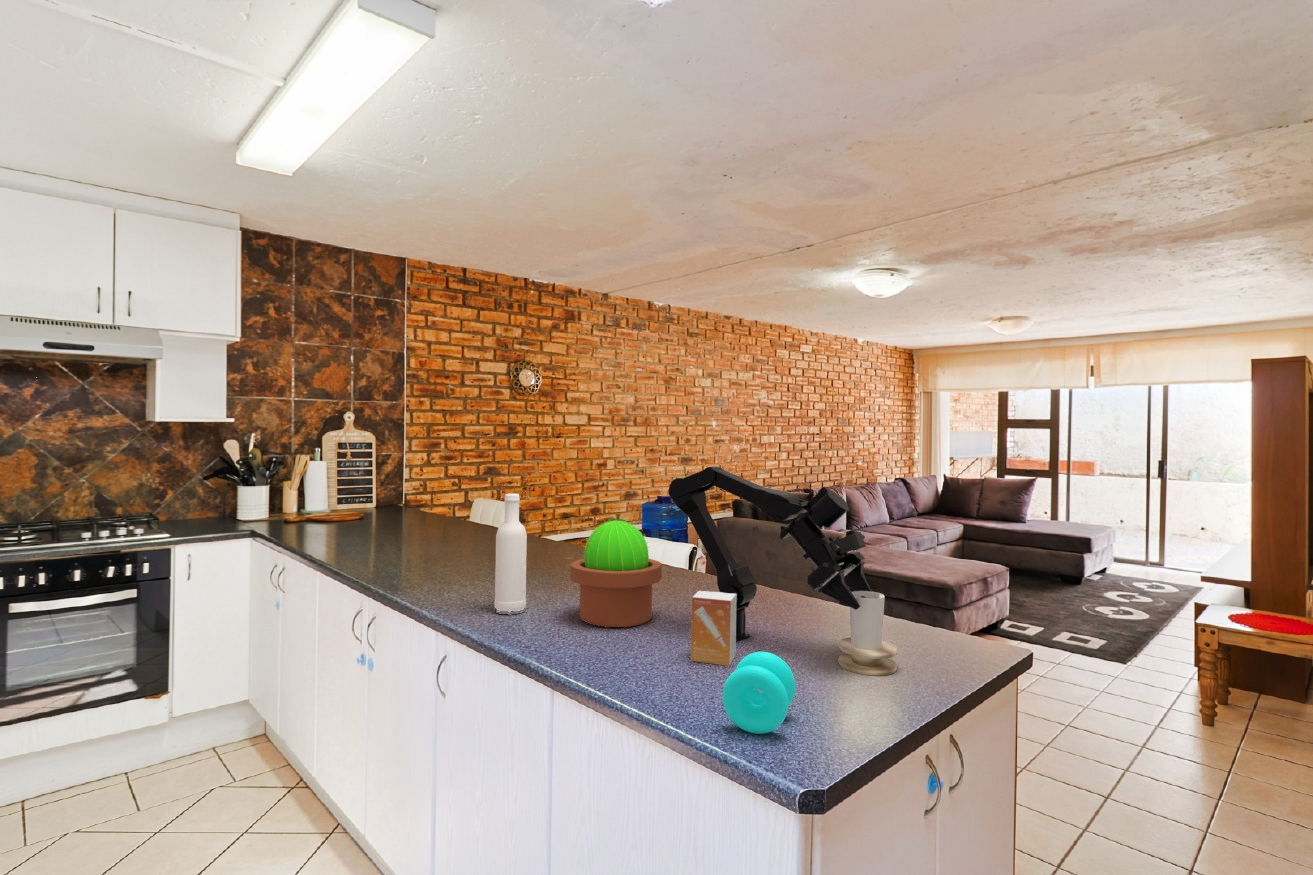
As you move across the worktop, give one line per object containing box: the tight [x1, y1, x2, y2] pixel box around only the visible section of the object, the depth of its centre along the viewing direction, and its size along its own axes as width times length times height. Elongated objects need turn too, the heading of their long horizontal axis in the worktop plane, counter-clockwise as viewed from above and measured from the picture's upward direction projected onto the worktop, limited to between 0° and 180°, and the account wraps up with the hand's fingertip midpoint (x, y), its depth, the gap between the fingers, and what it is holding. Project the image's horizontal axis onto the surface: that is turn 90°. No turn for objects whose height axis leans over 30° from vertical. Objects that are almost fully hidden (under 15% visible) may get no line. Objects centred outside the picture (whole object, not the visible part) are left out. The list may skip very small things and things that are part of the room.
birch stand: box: [838, 636, 898, 677], centre depth 127 cm, size 11×11×4 cm
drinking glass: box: [849, 590, 886, 650], centre depth 127 cm, size 7×7×10 cm
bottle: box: [494, 493, 528, 612], centre depth 164 cm, size 8×8×30 cm
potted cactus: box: [570, 518, 663, 629], centre depth 159 cm, size 22×22×25 cm
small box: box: [690, 590, 737, 667], centre depth 130 cm, size 8×6×13 cm
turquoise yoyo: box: [722, 651, 797, 735], centre depth 100 cm, size 10×10×10 cm
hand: (865, 603), depth 127 cm, fingers open, 9 cm apart
